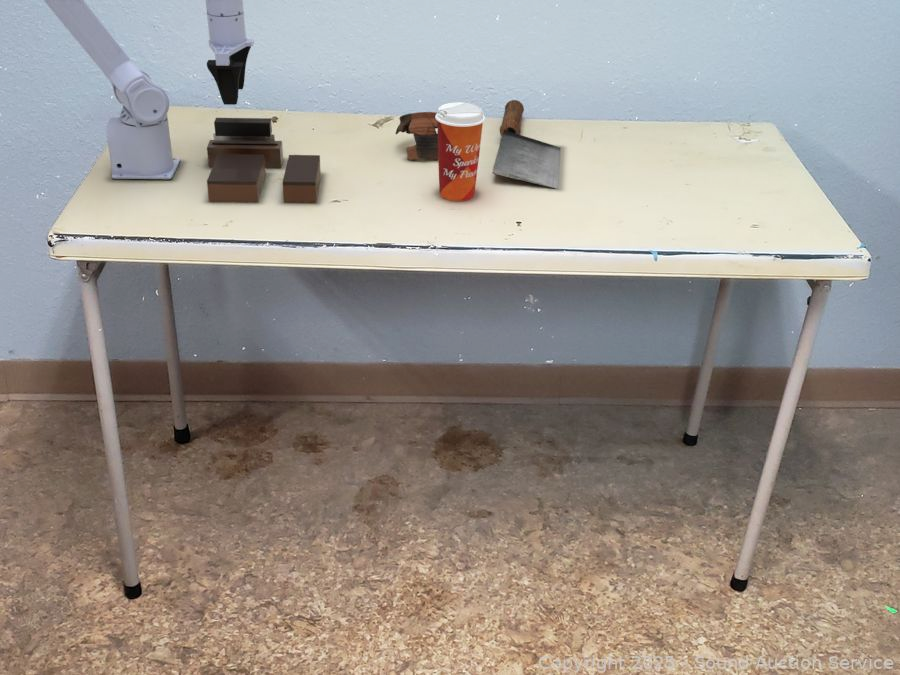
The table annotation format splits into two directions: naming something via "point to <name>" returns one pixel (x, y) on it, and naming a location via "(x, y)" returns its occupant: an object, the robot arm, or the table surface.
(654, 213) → the table surface
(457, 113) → the paper cup
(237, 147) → the knife block
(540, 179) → the meat cleaver
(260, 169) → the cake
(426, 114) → the brown irregular chunky piece
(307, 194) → the brown rectangular block
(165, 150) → the robot arm
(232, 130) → the bench scraper
